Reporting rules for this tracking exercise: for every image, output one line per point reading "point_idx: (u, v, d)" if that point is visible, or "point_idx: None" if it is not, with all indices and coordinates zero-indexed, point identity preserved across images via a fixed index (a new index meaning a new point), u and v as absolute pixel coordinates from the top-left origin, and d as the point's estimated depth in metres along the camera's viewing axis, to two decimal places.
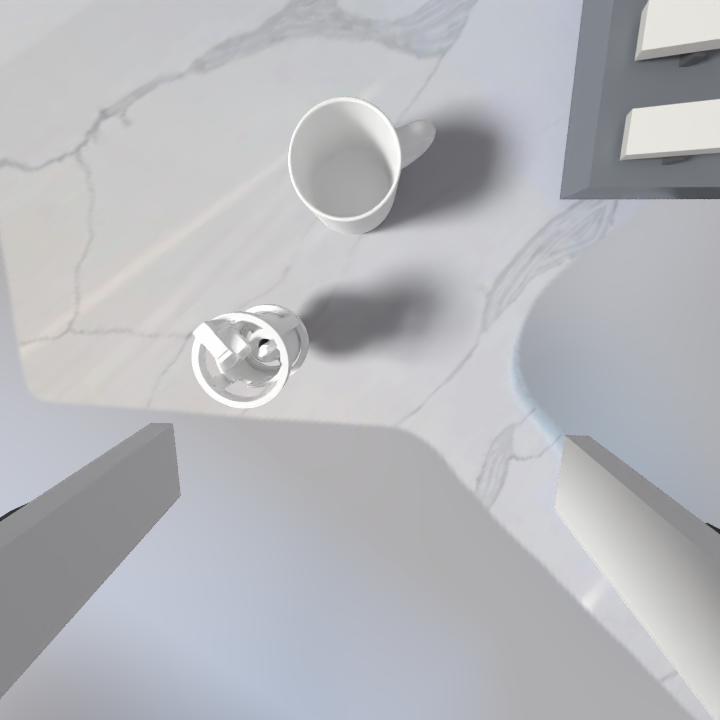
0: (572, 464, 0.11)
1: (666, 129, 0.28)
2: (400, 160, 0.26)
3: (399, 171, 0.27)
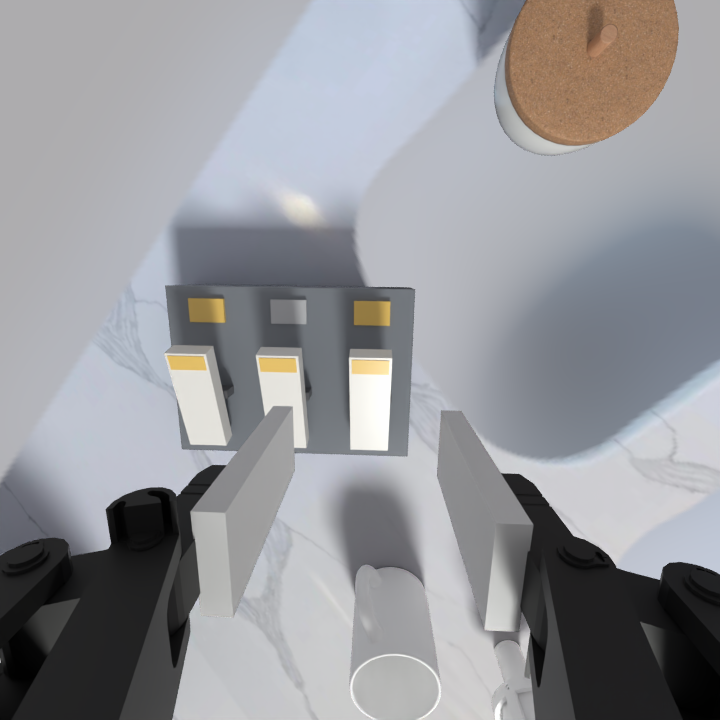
0: (443, 434, 0.13)
1: (370, 428, 0.30)
2: (396, 654, 0.32)
3: (405, 655, 0.32)
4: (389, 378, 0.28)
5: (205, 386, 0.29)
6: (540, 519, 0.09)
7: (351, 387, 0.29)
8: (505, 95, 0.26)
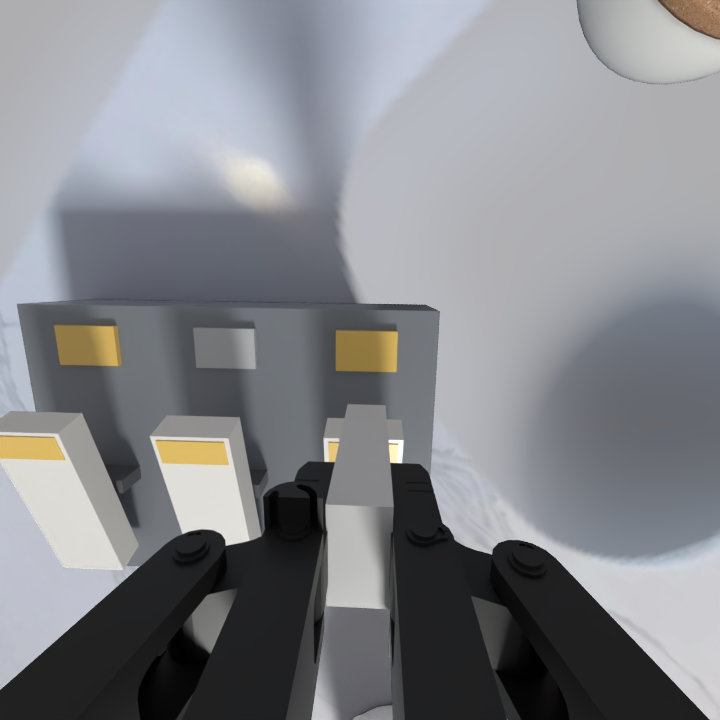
0: None
1: None
2: None
3: None
4: None
5: (69, 484, 0.16)
6: (418, 504, 0.09)
7: None
8: None
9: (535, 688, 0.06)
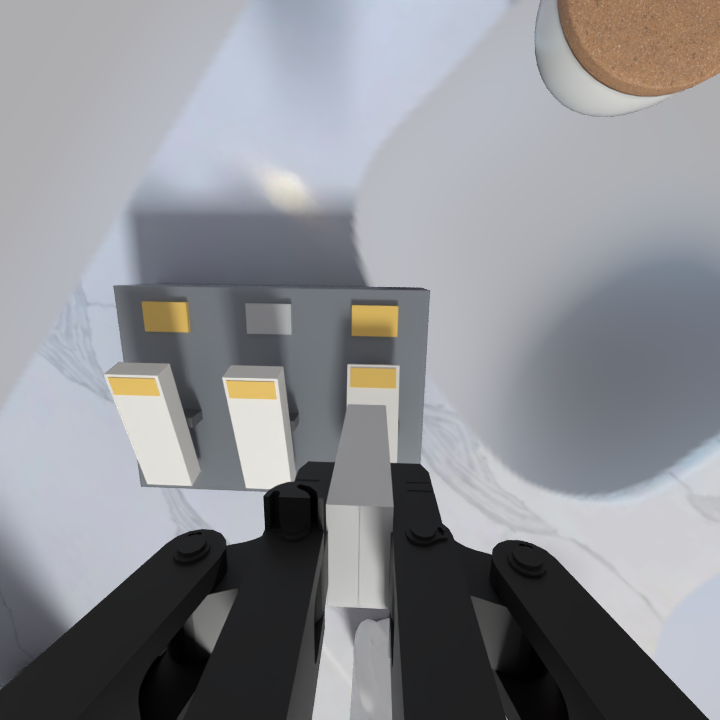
0: None
1: None
2: None
3: None
4: (396, 394, 0.23)
5: (160, 415, 0.23)
6: (418, 504, 0.09)
7: None
8: (554, 30, 0.19)
9: (535, 688, 0.06)
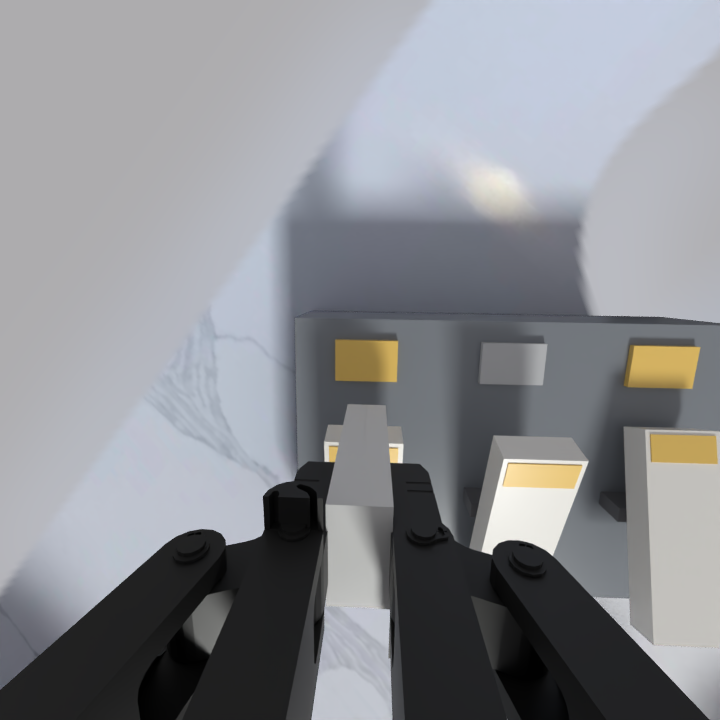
0: None
1: (691, 587, 0.16)
2: None
3: None
4: (718, 472, 0.16)
5: None
6: (418, 504, 0.09)
7: (651, 491, 0.16)
8: None
9: (535, 688, 0.06)
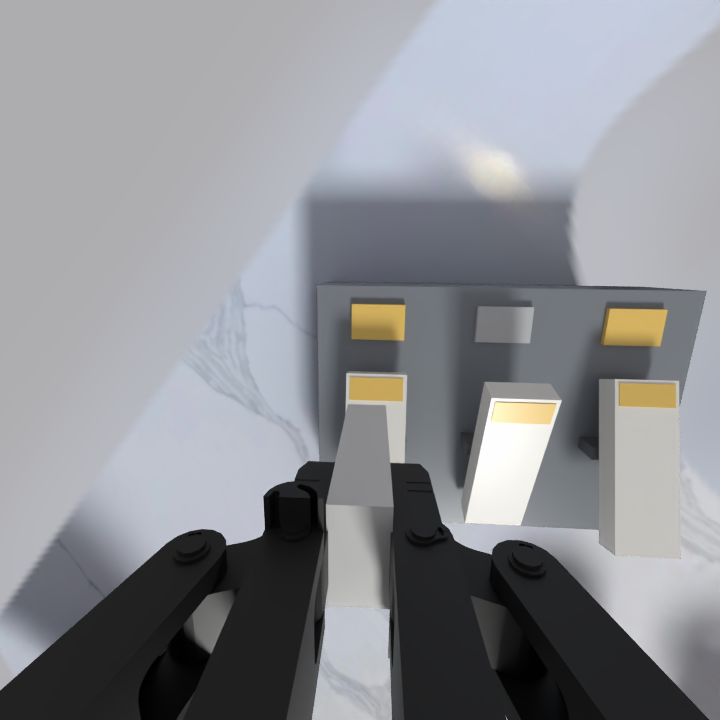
0: None
1: (648, 509, 0.19)
2: None
3: None
4: (676, 414, 0.19)
5: (393, 429, 0.20)
6: (418, 503, 0.09)
7: (618, 430, 0.19)
8: None
9: (535, 688, 0.06)
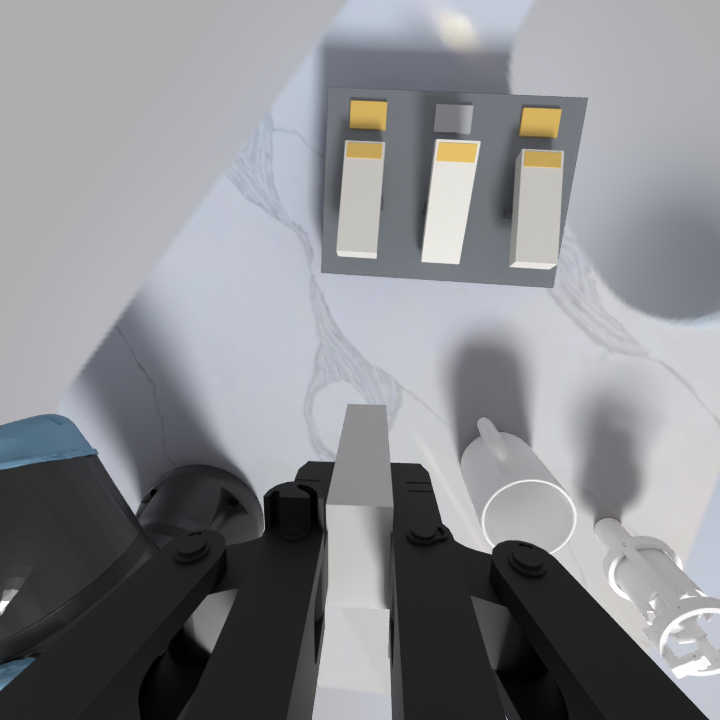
0: None
1: (538, 232, 0.29)
2: (536, 480, 0.32)
3: (544, 481, 0.32)
4: (561, 172, 0.29)
5: (374, 177, 0.29)
6: (417, 504, 0.09)
7: (522, 181, 0.29)
8: None
9: (535, 688, 0.06)
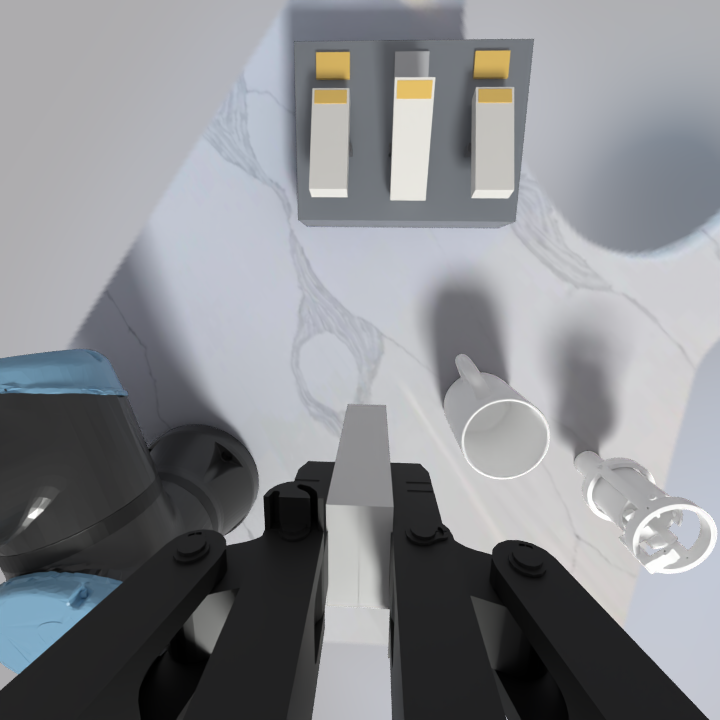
0: None
1: (495, 162, 0.31)
2: (510, 399, 0.34)
3: (517, 400, 0.34)
4: (512, 106, 0.31)
5: (341, 120, 0.32)
6: (418, 504, 0.09)
7: (477, 116, 0.31)
8: None
9: (535, 688, 0.06)
